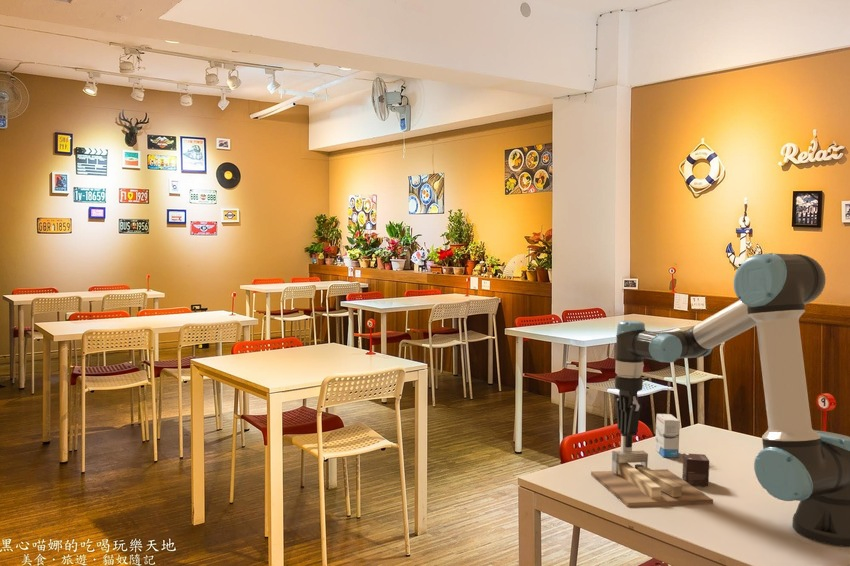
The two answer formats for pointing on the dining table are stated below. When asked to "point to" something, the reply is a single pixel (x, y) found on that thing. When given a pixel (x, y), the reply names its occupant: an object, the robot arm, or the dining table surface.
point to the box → (696, 469)
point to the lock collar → (628, 458)
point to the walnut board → (637, 498)
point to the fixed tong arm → (640, 480)
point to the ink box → (667, 435)
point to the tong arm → (661, 481)
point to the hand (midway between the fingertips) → (626, 457)
